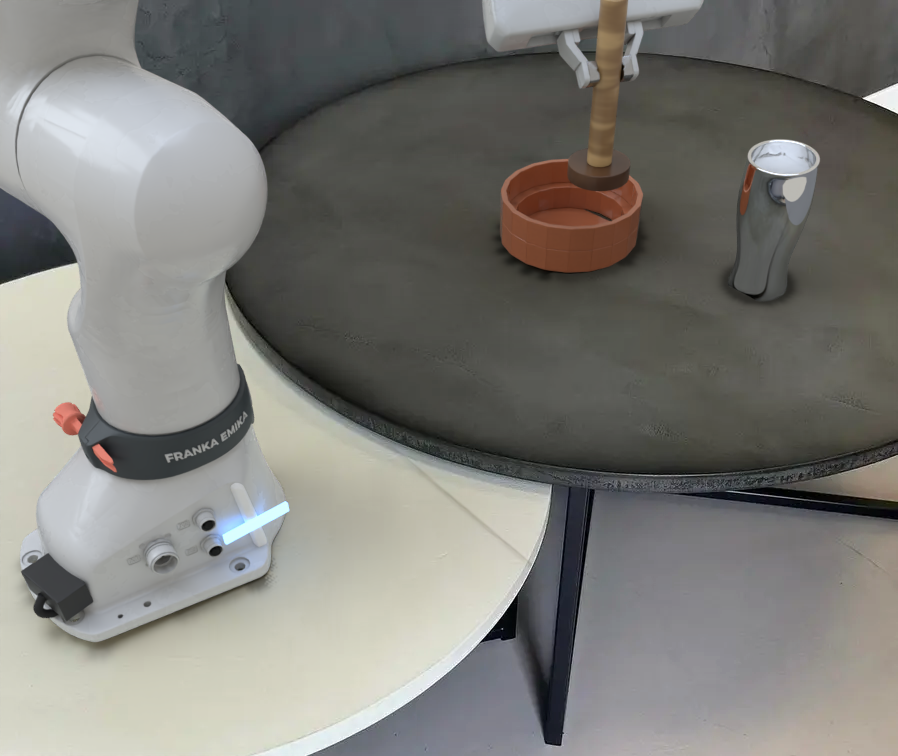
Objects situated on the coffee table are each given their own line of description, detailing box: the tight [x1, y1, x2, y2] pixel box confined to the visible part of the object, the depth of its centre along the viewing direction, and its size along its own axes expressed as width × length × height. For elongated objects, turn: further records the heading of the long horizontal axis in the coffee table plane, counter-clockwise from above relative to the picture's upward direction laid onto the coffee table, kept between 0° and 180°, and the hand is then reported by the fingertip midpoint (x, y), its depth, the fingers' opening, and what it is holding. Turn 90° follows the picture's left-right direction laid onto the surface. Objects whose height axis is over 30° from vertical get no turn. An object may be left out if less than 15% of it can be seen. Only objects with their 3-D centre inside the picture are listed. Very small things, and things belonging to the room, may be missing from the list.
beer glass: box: [727, 138, 821, 302], centre depth 98 cm, size 7×7×15 cm
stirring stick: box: [567, 0, 631, 191], centre depth 90 cm, size 6×6×16 cm
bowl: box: [499, 158, 644, 273], centre depth 109 cm, size 15×15×6 cm
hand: (609, 82), depth 89 cm, fingers closed on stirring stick, 2 cm apart
